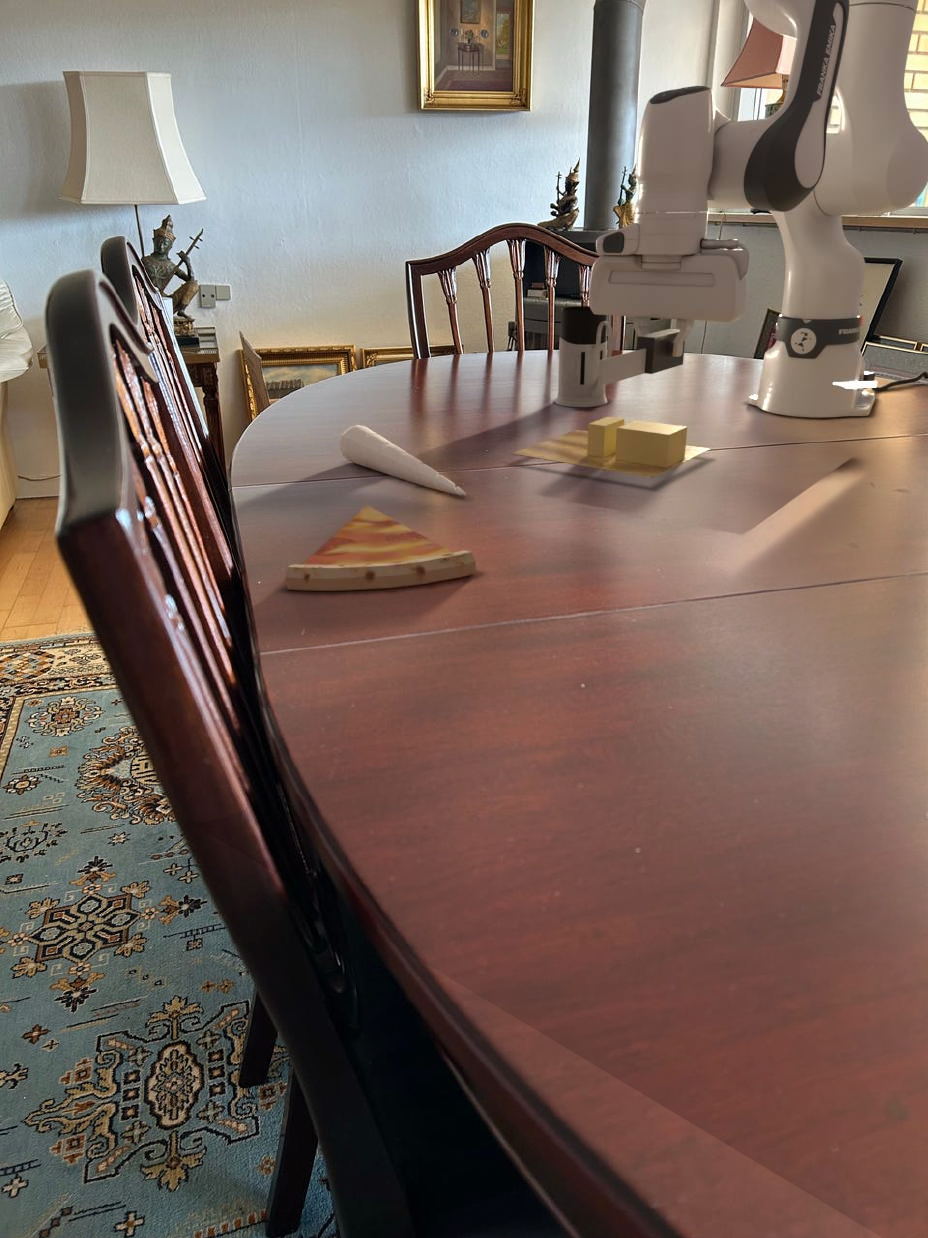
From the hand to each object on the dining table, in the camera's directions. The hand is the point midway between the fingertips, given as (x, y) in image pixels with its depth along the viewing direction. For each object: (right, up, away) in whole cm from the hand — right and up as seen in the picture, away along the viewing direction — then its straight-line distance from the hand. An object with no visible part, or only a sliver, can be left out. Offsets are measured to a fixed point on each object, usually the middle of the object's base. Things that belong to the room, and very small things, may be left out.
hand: (660, 354), depth 115 cm
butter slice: (-7, -13, -1) cm, 15 cm away
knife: (-3, -3, -3) cm, 6 cm away
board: (-7, -14, 0) cm, 15 cm away
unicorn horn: (-33, -17, -4) cm, 37 cm away
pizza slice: (-31, -28, -29) cm, 51 cm away
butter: (-2, -14, -5) cm, 15 cm away
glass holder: (-5, +1, +33) cm, 33 cm away
